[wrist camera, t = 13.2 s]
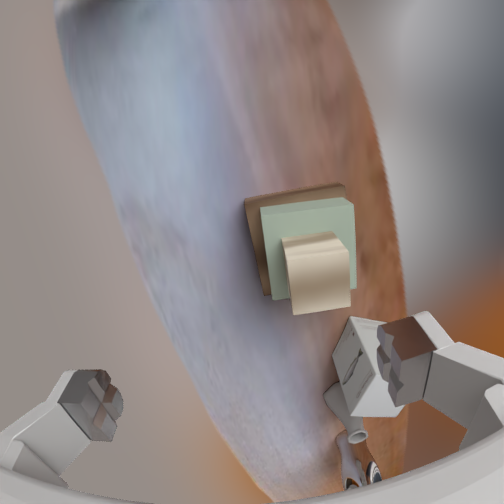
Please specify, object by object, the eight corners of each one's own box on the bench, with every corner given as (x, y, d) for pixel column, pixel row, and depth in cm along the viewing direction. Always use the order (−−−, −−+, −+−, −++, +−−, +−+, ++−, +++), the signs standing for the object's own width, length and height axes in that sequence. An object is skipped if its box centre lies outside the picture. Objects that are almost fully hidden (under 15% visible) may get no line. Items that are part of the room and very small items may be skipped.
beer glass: (351, 448, 53) (365, 506, 39) (326, 442, 52) (338, 504, 38) (373, 429, 51) (393, 489, 37) (349, 423, 50) (366, 487, 36)
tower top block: (260, 207, 33) (260, 216, 29) (342, 197, 33) (353, 204, 29) (270, 283, 36) (272, 300, 32) (346, 273, 36) (356, 288, 32)
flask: (336, 412, 49) (347, 456, 39) (315, 393, 47) (325, 439, 37) (371, 392, 47) (388, 434, 38) (353, 370, 45) (369, 416, 36)
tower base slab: (245, 197, 37) (244, 204, 33) (335, 181, 36) (344, 185, 32) (263, 281, 40) (263, 295, 37) (346, 265, 40) (354, 277, 36)
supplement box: (348, 314, 42) (377, 373, 30) (391, 322, 42) (426, 377, 30) (329, 355, 44) (348, 417, 32) (371, 361, 45) (397, 418, 33)
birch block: (281, 237, 30) (287, 260, 24) (332, 230, 30) (348, 251, 24) (287, 284, 32) (293, 315, 26) (335, 277, 31) (350, 306, 26)
